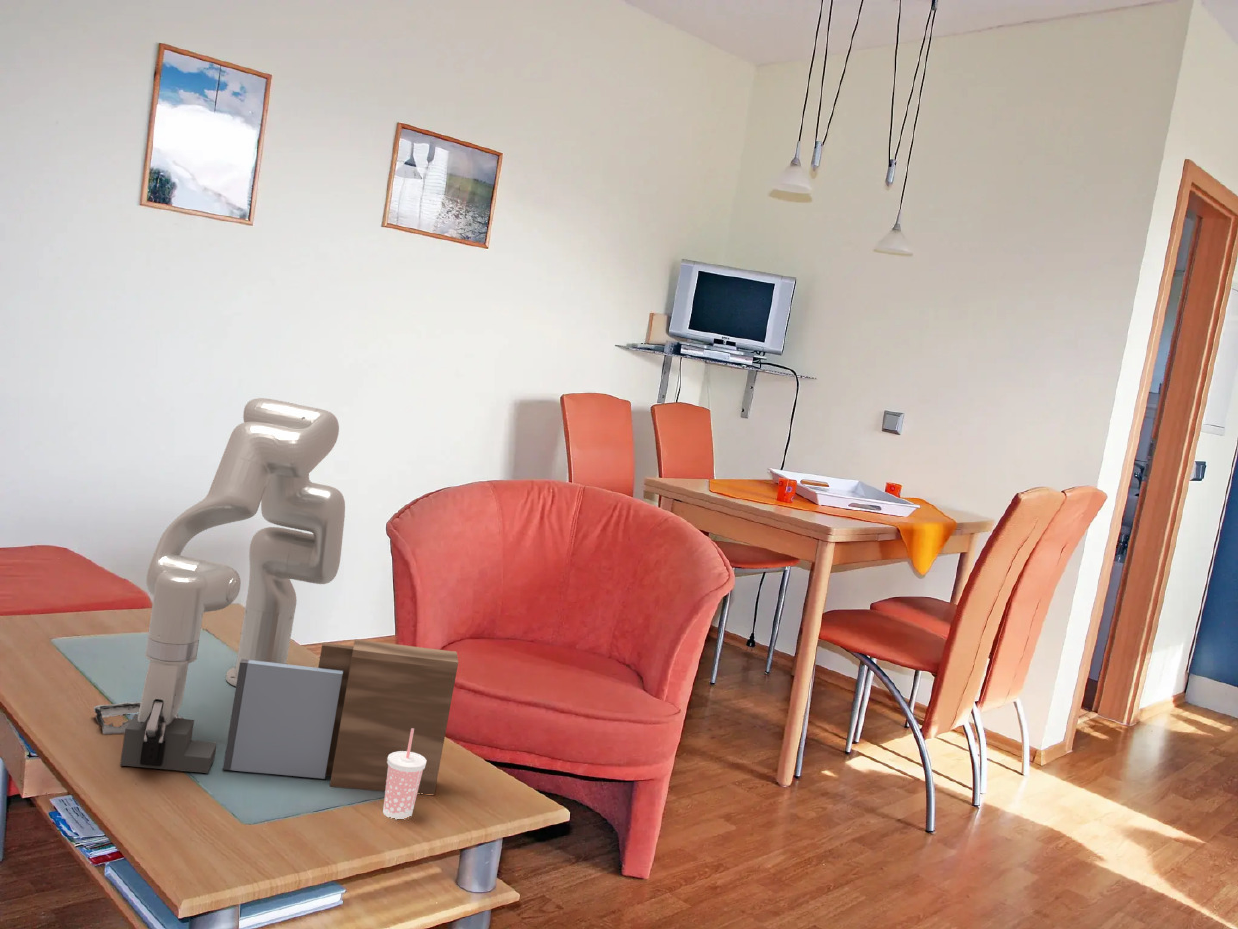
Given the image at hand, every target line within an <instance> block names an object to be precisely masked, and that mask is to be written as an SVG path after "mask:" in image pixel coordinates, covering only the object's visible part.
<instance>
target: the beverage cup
mask: <svg viewBox="0 0 1238 929" xmlns="http://www.w3.org/2000/svg"><path fill="white" fill-rule="evenodd" d="M413 733H414V728H411V732H410V738H409V744H408V749H407V751H397V752H393V753H391V754H389V756H388V758H387V760H388V761H387V763H388V772H387V780H386V789H385V791H384V798H383V810H382V813H383V815H384V816H386V817H387V818H389V817H391V818H390V819H392V818H395V819H394V820H397V819H404V818H407V817H409V816H411V817H412V816H413V812H414V808H415V803H416V799H417V796H418V794H417V792H418V788H419V784H420V780H421V776H422V772H423V769H425V766H426V762H427V760H426V759H425V757H423V756H422V755H420V754H417V753H414V752H410V750H411V744H412V738H413ZM404 820H405V819H404Z"/></svg>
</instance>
